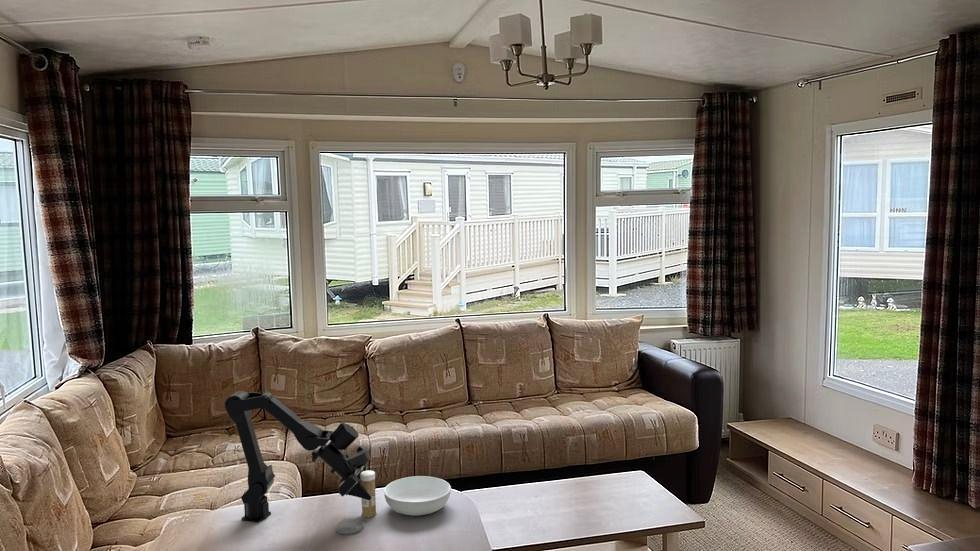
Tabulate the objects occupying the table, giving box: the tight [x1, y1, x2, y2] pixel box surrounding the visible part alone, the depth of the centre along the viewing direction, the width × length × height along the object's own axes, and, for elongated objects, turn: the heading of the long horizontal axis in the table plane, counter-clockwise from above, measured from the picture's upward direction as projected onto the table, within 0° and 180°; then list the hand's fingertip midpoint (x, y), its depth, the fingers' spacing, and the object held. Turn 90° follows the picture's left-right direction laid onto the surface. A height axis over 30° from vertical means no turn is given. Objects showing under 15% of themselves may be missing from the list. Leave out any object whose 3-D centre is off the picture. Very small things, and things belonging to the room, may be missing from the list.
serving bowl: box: [383, 475, 452, 516], centre depth 211 cm, size 21×21×7 cm
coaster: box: [335, 519, 365, 536], centre depth 198 cm, size 8×8×1 cm
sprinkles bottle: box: [360, 469, 377, 518], centre depth 207 cm, size 5×5×14 cm
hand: (372, 494), depth 207 cm, fingers open, 7 cm apart
